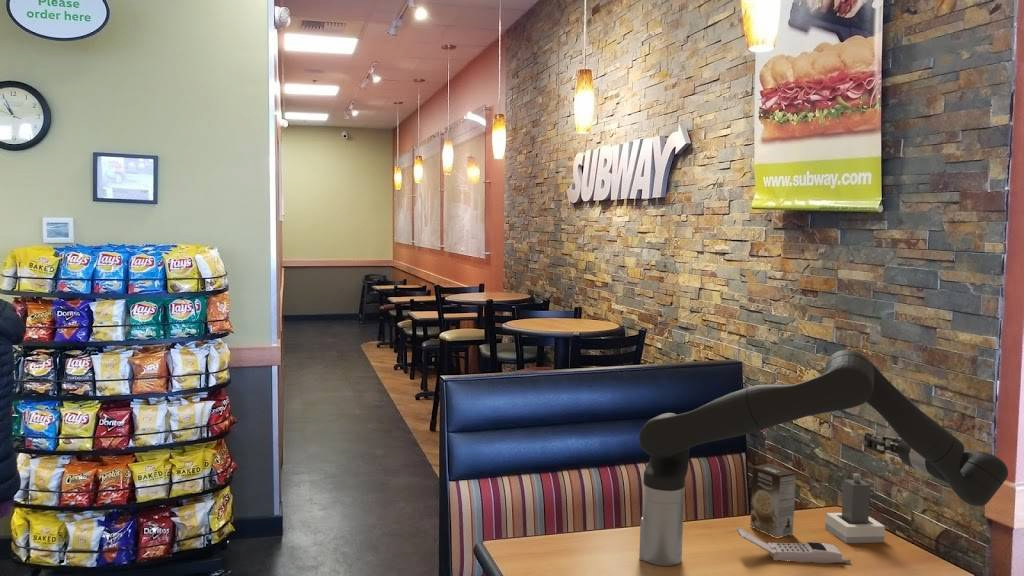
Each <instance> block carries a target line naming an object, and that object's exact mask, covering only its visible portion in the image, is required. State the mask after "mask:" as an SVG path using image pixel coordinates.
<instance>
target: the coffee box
mask: <svg viewBox="0 0 1024 576" xmlns="http://www.w3.org/2000/svg"><path fill="white" fill-rule="evenodd" d="M752 467H753V468H752V485H751V486H752V487H751V506H750V521H749V522H750V523H749V524H750V525H749V526H752V527H755V528H757V529H759V530H761V531H764V532H766V533H768V534H771V535H773V536H775V537H780V536H786V537H788V536H787V535H790V536H793V535H794V534H793V533H794V521H795V520H794V519H795V504H796V502H795V500H796V499H795V498H796V487H797V486H796V484H797V472H794V471H791V470H789V469H786V468H783V467H781V466H778V465H775V464H773V463H766V464H758V465H755V466H752ZM752 527H751V528H752ZM792 534H793V535H792Z"/></svg>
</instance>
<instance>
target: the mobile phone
mask: <svg viewBox="0 0 1024 576" xmlns="http://www.w3.org/2000/svg"><path fill="white" fill-rule="evenodd" d="M736 531H737V533H738V535H739V536H740V538H742V539H744V540H746V541H748V542H750V543H752V544H753V545H755V546H757V547H759V548H761V549H763V550H765V551H767V552H768V554H769V555H770V554H771V555H770V557H771V556H772V557H773V558H772V557H771V558H772V559H775V560H788V561H787V562H789V560H790V561H801V562H800V563H809V562H815V563H814V564H835V563H840V564H841V563H844V564H846V563H849V564H850V563H851V559H850V558H843V554H842V553H841V552H840V550H839V549H838V548H837V547H836V545H833V544H832V543H831V544H830V543H823V542H815V541H814V542H813V541H806V542H805V543H804V542H803V543H802V542H801V543H800V542H799V543H797V542H768V543H766V541H764V540H762V539H761V538H758V537H756V536H755V535H753V534H751V533H749V532H748V531H746V530H745V529H743V528H741V527H736Z"/></svg>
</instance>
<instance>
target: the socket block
mask: <svg viewBox="0 0 1024 576" xmlns="http://www.w3.org/2000/svg"><path fill="white" fill-rule="evenodd" d="M824 528H825V530H827V531H828V532H830V533H831V534H832V535H834V536H835V537H837V538H838V539H839V540H841V541H842V542H844V543H846V544H860V543H862V544H863V543H865V544H867V543H869V544H870V543H885V535H886V533H885V532H886V526H885V525H884V524H882V523H880V522H879V521H878V520H875V518H872V517H871V516H869V520H868V524H848V523H847V522H845V521H844V520H842V512H825V526H824Z"/></svg>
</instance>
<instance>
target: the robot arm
mask: <svg viewBox="0 0 1024 576" xmlns="http://www.w3.org/2000/svg"><path fill="white" fill-rule="evenodd" d="M865 403H867V404H868V405H870V406H871V408H873V409H874V410H875V411H876V412H877V413H878V414H879V415H880V416H881V417H882V418H883V419H884V420H885V422H887V424H888V425H889V426H890V427H891V428H892V430H893V431H894V432H895V433H896V434H897V436H898V437H895V436H889V435H885V436H878V435H875V434H874V433H870V432H865V433H864V436H863V441H864V442H866V445H865V448H867V449H869V450H871V451H874V452H875V453H878V454H881V455H885V454H886V453H890V454H894V455H895V456H899V459H900V460H901V462H902V464H904V465H905V466H907V467H909V468H911V469H914V470H915V471H918V472H920V473H923V474H924V475H926V476H930V477H933V478H935V479H937V480H939V481H942V482H944V483H946V484H948V485H949V486H950V488H951V489H952V491H953V492H954V493H955V495H956V496H957V497H958V498H960V499H961V501H963V502H964V503H966V504H968V505H970V506H973V507H983V506H985V505H987V504H988V503H989V502H990V501H991V499H992V498H993V497H994V496H995V494H997V492H998V491H999V489H1000V488H1001V486H1003V484H1004V483H1005V482H1006V480H1007V479H1008V477H1009V469H1008V466H1007V465H1006V463H1005V462H1004V461H1003V460H1002V459H1001V458H1000V457H998V456H996V455H994V454H992V453H990V452H986V451H981V450H965V446H964V443H963V442H962V441H961V440H959V439H958V437H956V436H954V435H953V434H952V433H950V431H948V430H947V429H946V428H944V427H943V426H941V425H940V423H938V422H937V421H935V420H934V419H932V418H931V417H930V416H929V415H928V414H926V413H925V412H923V411H922V410H921V409H920V408H919V407H918V406H917V405H915V404H914V403H913V402H912V401H911V400H910V399H908V398H907V397H906V396H905V395H904V394H903V393H902V392H901V391H900V390H899V389H898V388H896V387H895V386H894V384H893V383H892V382H891V381H889V380H888V379H887V378H886V376H885V375H883V373H882V372H881V371H880V370H879V369H878V368H877V367H876V366H875V365H874V364H873V363H872V362H871V361H870V359H868V357H867V356H866V355H864V354H862V353H861V352H858V351H855V350H852V349H843V350H839V351H836V352H835V353H833V354H831V355H830V356H829V358H828V360H827V362H826V364H825V369H824V373H822V374H821V375H818V376H816V377H814V378H810V379H808V380H805V381H802V382H801V381H800V382H798V383H794V384H769V383H768V384H756V385H752V386H749V387H745V388H743V389H740V390H739V389H738V390H736V391H733V392H730V393H727V394H724V395H723V396H721V397H718V398H715V399H713V400H711V401H710V402H708V403H706V404H703V405H701V406H699V407H697V408H695V409H694V410H691V411H690V410H689V411H687V412H684V413H683V412H682V413H678V414H676V413H674V412H666V413H661V414H659V415H657V416H655V417H653V418H651V419H649V420H647V421H646V423H644V425H642V427H641V429H640V432H639V437H638V442H639V447H640V448H641V449H642V450H643V451H644V452H645V453H646V454H647V455H648V456H649V460H648V464H647V466H646V467H645V470H644V471H643V472H644V473H643V486H642V487H643V488H642V491H643V492H642V510H641V511H642V512H641V513H642V515H641V517H640V523H639V524H640V526H639V527H640V528H639V553H638V557H639V558H638V560H640V561H643V562H646V563H649V564H652V565H655V566H663V567H670V566H676V565H679V564H680V563H681V562H682V560H683V540H684V539H683V538H684V537H683V535H684V533H683V530H684V507H685V482H686V478H687V477H686V476H687V474H688V470H689V460H690V458H689V457H690V448H693V447H695V446H699V445H702V444H705V443H706V444H707V443H711V442H716V441H722V440H726V439H731V438H736V437H741V436H745V435H749V434H752V433H756V432H759V431H763V430H766V429H770V428H772V427H776V426H778V425H782V424H786V423H789V422H793V421H797V420H800V419H803V418H806V417H811V416H815V415H820V414H825V413H831V412H837V411H841V410H848V409H853V408H856V407H857V408H858V407H860V406H861V405H864V404H865ZM888 441H890V442H889V444H888Z"/></svg>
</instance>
